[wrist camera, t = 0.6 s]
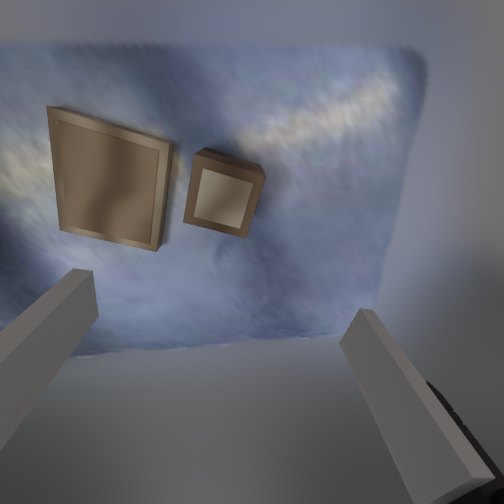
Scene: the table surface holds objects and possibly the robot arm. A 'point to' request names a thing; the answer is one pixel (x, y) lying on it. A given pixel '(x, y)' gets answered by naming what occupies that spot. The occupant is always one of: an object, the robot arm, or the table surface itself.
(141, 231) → the maple pad
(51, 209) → the table surface
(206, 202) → the walnut block
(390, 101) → the table surface
